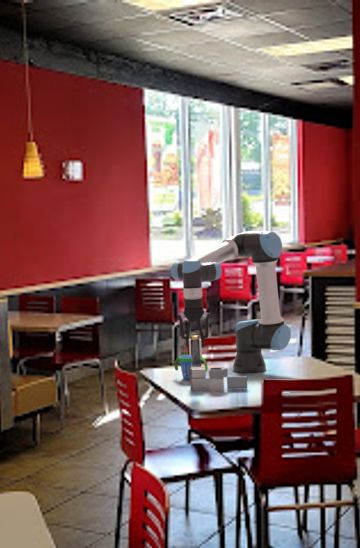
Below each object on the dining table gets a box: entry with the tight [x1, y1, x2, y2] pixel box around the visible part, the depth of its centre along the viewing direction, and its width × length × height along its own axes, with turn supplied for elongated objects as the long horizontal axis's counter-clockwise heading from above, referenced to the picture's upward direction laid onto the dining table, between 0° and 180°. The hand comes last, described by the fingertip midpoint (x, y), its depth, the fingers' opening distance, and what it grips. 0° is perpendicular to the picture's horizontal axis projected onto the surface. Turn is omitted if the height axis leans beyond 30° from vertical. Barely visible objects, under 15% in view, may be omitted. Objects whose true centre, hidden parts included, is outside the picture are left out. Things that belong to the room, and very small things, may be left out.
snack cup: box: [174, 354, 209, 381], centre depth 368 cm, size 16×10×10 cm
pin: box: [189, 335, 202, 365], centre depth 335 cm, size 4×4×11 cm
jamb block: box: [190, 366, 205, 391], centre depth 347 cm, size 5×6×9 cm
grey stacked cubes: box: [208, 366, 248, 390], centre depth 343 cm, size 16×6×8 cm, turn 87°
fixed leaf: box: [192, 369, 225, 392], centre depth 344 cm, size 6×13×9 cm, turn 86°
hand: (195, 355), depth 335 cm, fingers closed on pin, 3 cm apart
